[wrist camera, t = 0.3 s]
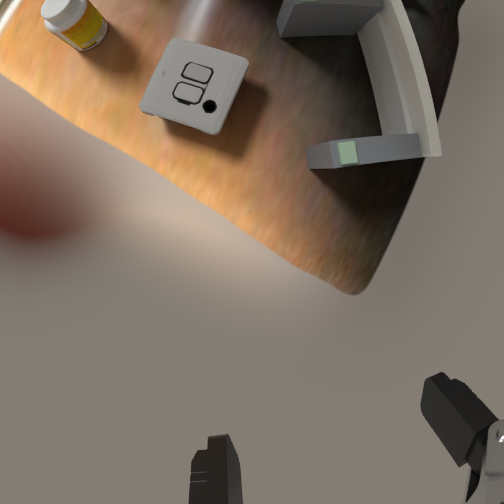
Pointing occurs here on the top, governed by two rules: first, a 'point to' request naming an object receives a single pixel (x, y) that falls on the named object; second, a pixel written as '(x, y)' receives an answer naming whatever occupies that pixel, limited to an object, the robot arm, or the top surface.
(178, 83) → the electrical switch
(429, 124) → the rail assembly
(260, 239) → the top surface
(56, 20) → the supplement bottle
